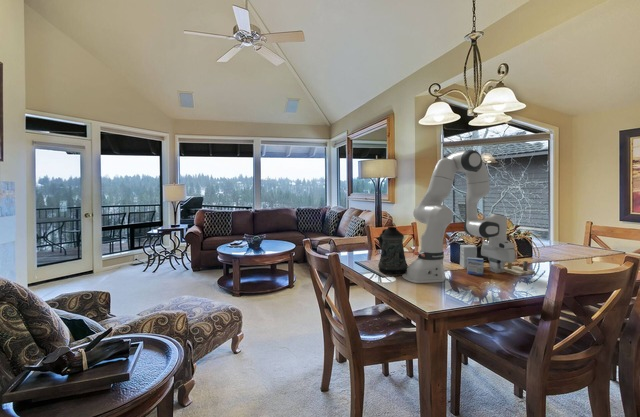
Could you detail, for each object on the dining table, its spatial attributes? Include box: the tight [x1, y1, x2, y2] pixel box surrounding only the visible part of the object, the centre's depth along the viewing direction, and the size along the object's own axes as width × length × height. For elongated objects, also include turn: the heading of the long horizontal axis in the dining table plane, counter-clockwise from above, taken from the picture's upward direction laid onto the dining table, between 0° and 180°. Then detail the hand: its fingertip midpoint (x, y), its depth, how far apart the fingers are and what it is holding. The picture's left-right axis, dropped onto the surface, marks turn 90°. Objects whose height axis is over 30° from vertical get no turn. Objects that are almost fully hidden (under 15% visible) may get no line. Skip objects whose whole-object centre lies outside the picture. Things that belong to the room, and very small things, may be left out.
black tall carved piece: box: [377, 226, 409, 276], centre depth 187 cm, size 16×19×25 cm
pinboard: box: [503, 260, 536, 276], centre depth 181 cm, size 12×12×6 cm
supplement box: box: [459, 244, 478, 269], centre depth 192 cm, size 7×7×13 cm
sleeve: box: [488, 258, 504, 274], centre depth 181 cm, size 5×5×7 cm
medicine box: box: [466, 257, 485, 276], centre depth 178 cm, size 8×4×9 cm, turn 62°
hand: (496, 267), depth 182 cm, fingers closed on sleeve, 5 cm apart
